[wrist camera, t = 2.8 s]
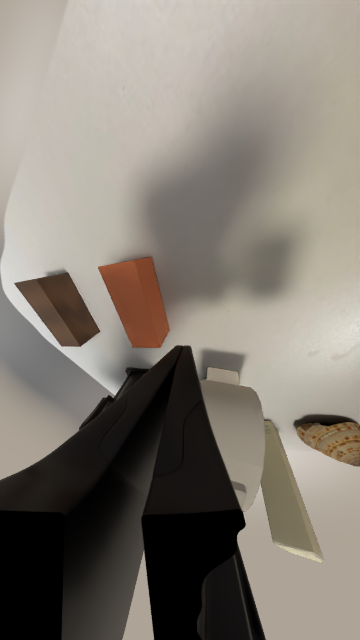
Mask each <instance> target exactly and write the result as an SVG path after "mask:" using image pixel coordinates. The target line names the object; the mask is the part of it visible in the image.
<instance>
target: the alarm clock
mask: <svg viewBox="0 0 360 640" xmlns="http://www.w3.org/2000/svg"><path fill="white" fill-rule="evenodd" d="M201 390H202V394H203V398H204V402H205V406H206V410H207V413H208V417H209V420H210V424H211V427H212V430H213V433H214V436H215V439H216V442H217V445H218V447H219V450H220V453H221V455H222V458H223V461H224V463H225V466H226V469H227V471H228V474H229V477H230V479H231V482H232V485H233V488H234V490H235V493H236V496H237V498H238V501H239V504H240V506H241V509H242V512H245V511H247V510H248V509H249V508H250V506H251V505H252V504H253V502H254V499H255V497H256V494H257V492H258V490H259V486H260V481H261V477H262V472H263V466H264V453H265V427H264V417H263V412H262V407H261V402H260V400H259V398H258V396H257V393H256V392H255V391H254V390H253V389H252V388H250V387H245V386H239V377H238V372H236V371H230V370H223V369H217V368H211V367H208V370H207V378H206V380H205V379H203V380H202V381H201Z"/></svg>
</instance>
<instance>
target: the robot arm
mask: <svg viewBox="0 0 360 640" xmlns="http://www.w3.org/2000/svg"><path fill="white" fill-rule="evenodd" d="M125 371H126V373H127V375H128V377H127V378H126V380H125V381H124V383H123V385H122V386H121V388H120V389H119V391H118V392H117V394H116V395H115V397H114V398H112V397H111V396H110V395H108V397H107V398H102V400H101V401H100V403H99V404H98V405H97V407H96V408H95V409H94V410H93V412H92V413H91V414H90V415H89V417H88V418H87V419H86V420H85V421H84V422H83V423H82V425H81V426H80V428H79V431H78V432H77V433H76V434H75V435H73V436H72V437H71V438H69V439H68V440H67V441H66V442H65V443H63V444H62V445H61V446H59V447H58V448H57V449H56V450H54V451H53V452H52V453H51V454H49V455H47V456H46V457H45V458H43V459H42V460H40V461H39V462H37V463H35V464H33V465H31V466H30V467H28V468H26V469H24V470H22V471H20V472H18V473H16V474H13V475H11V476H9V477H6V478H4V479H2V480H0V640H122V638H123V635H124V631H125V627H126V623H127V618H128V615H129V610H130V606H131V602H132V598H133V593H134V589H135V585H136V581H137V576H138V572H139V568H140V564H141V560H142V555H143V551H144V552H145V561H146V569H147V579H148V588H149V597H150V605H151V615H152V624H153V633H154V640H266V639H265V636H264V632H263V629H262V625H261V622H260V618H259V615H258V611H257V608H256V605H255V601H254V598H253V594H252V591H251V588H250V584H249V581H248V577H247V574H246V570H245V567H244V564H243V560H242V557H241V553H240V550H239V547H238V543H237V535H238V533H239V531H240V530H242V529H243V528H244V527H245V525H246V524H245V519H244V515H243V512H242V509H241V506H240V504H239V501H238V498H237V496H236V493H235V490H234V488H233V485H232V482H231V479H230V477H229V474H228V471H227V469H226V466H225V463H224V461H223V458H222V455H221V453H220V450H219V447H218V445H217V442H216V439H215V436H214V433H213V430H212V427H211V424H210V420H209V417H208V413H207V410H206V406H205V402H204V398H203V394H202V390H201V386H200V382H199V378H198V373H197V369H196V365H195V361H194V357H193V353H192V349H191V346H181V345H177V346H175V347H174V348H173V349H172V350H171V351H170V352H169V353H168V354H166V355H165V356H164V357H163V358H162V359H161V360H160V361H159V362H158V363H157V364H155V365H154V366H153V367H152V368H151V369H150V370H148V369H133V368H127V369H126V370H125Z"/></svg>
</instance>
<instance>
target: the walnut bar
mask: <svg viewBox="0 0 360 640" xmlns="http://www.w3.org/2000/svg"><path fill="white" fill-rule="evenodd" d="M14 284H15V285H16V287H17V288H18V289H19V291H20V292H21V293H22V295H23V296H24V297H25V299H26V300H27V301H28V303H29V304H30V305H31V306H32V308H33V309H34V310H35V312H36V313H37V314H38V316H39V317H40V318H41V320H42V321H43V322H44V324H45V325H46V326H47V328H48V329H49V330H50V332H51V333H52V334H53V336H54V337H55V338H56V340H57V341H58V342H59V344H60V345H61V346H75V347H81V346H82V345H83V344H85V343H86V342H87V341H88V340H90V339H91V338H92V337H94V336H95V335H96V334H98V333H99V332H100V331H99V329H98V327H97V325H96V324H95V322H94V320H93V318H92V316H91V314H90V313H89V311H88V309H87V307H86V305H85V303H84V302H83V300H82V298H81V296H80V294H79V292H78V291H77V289H76V287H75V285H74V283H73V281H72V279H71V278H70V276H69V274H68V273H64V274H58V275H53V276H48V277H43V278H38V279H32V280H27V281H22V282H17V283H14Z"/></svg>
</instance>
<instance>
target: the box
mask: <svg viewBox="0 0 360 640" xmlns="http://www.w3.org/2000/svg"><path fill="white" fill-rule="evenodd" d="M264 427H265V453H264V466H263V472H262V477H261V481H260V482H261V487H262V492H263V497H264V501H265V506H266V511H267V516H268V520H269V525H270V530H271V535H272V539H273V543H274V544H276V545H277V546H279V547H281V548H283V549H284V550H286V551H288V552H291V553H294V554H297V555H300V556H303V557H306V558H309V559H312V560H315V561H318V562H321V563H323V562H324V558H323V555H322V552H321V550H320V547H319V544H318V541H317V538H316V535H315V533H314V530H313V527H312V525H311V522H310V519H309V516H308V514H307V510H306V508H305V505H304V502H303V500H302V497H301V494H300V491H299V488H298V486H297V483H296V480H295V477H294V475H293V472H292V469H291V466H290V464H289V461H288V458H287V455H286V453H285V450H284V447H283V444H282V442H281V439H280V436H279V433H278V431H277V430H276V428H275V427H274V425H273V424H272V423H271V421H264Z"/></svg>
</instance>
